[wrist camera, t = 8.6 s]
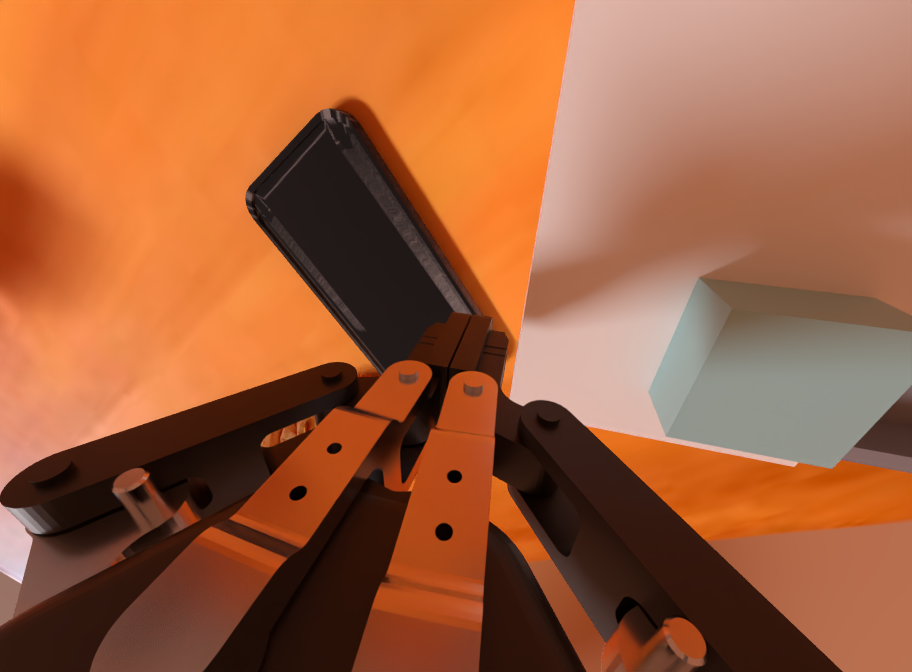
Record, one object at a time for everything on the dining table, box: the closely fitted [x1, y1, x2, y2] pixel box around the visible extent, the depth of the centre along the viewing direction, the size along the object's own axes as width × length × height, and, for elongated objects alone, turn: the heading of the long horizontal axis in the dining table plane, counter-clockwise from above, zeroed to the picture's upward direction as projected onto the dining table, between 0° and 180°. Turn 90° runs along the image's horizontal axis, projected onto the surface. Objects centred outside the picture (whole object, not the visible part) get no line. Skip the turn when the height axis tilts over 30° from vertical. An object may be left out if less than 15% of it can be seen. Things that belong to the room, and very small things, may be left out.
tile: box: [648, 277, 912, 469], centre depth 11 cm, size 5×5×2 cm
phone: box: [246, 109, 493, 375], centre depth 19 cm, size 8×1×15 cm
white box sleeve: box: [510, 0, 912, 467], centre depth 13 cm, size 16×12×4 cm
